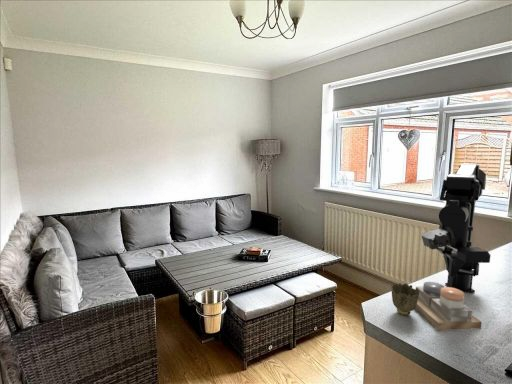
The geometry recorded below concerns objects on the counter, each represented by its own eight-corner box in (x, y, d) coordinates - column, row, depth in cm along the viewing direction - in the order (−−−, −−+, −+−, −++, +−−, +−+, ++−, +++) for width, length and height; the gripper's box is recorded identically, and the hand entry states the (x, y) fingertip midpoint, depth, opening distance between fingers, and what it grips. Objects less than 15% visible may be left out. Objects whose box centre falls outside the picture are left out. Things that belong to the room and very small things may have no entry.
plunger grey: (436, 294, 97) (437, 281, 96) (447, 303, 92) (449, 289, 91) (418, 295, 97) (419, 281, 96) (429, 303, 91) (430, 290, 91)
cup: (384, 309, 93) (385, 284, 92) (402, 305, 95) (404, 281, 94) (403, 322, 86) (405, 296, 85) (423, 317, 88) (425, 291, 87)
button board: (442, 299, 99) (444, 285, 98) (480, 328, 83) (482, 311, 82) (406, 300, 98) (407, 285, 98) (437, 330, 82) (439, 312, 82)
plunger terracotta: (453, 301, 89) (455, 286, 88) (467, 311, 83) (469, 296, 83) (435, 301, 89) (436, 287, 88) (447, 311, 83) (449, 296, 82)
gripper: (409, 214, 92) (405, 263, 94) (450, 230, 74) (444, 291, 76) (445, 214, 93) (441, 263, 95) (495, 230, 74) (488, 291, 76)
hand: (451, 275), depth 85 cm, fingers closed
